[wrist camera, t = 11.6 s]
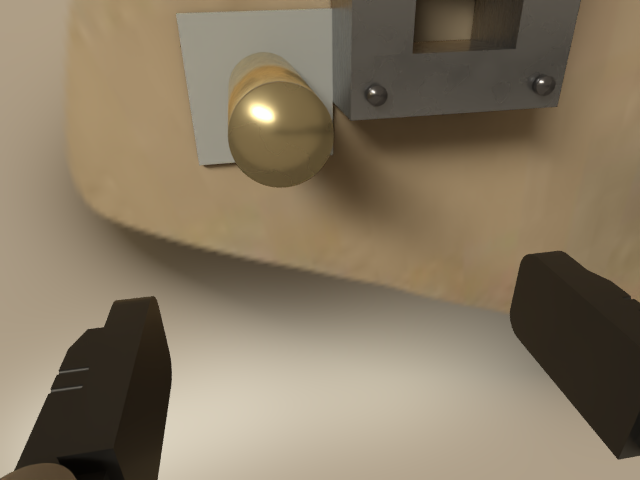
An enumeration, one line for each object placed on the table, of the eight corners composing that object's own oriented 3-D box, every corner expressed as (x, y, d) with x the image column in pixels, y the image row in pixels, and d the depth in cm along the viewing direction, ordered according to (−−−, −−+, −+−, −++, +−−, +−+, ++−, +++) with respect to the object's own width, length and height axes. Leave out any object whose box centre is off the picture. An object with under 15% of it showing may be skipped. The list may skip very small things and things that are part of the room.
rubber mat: (330, 8, 31) (331, 8, 31) (332, 153, 36) (333, 154, 35) (176, 13, 29) (176, 13, 29) (199, 163, 34) (199, 165, 34)
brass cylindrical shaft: (298, 50, 31) (333, 79, 21) (301, 124, 34) (334, 183, 23) (224, 53, 31) (221, 85, 20) (232, 128, 33) (234, 191, 23)
